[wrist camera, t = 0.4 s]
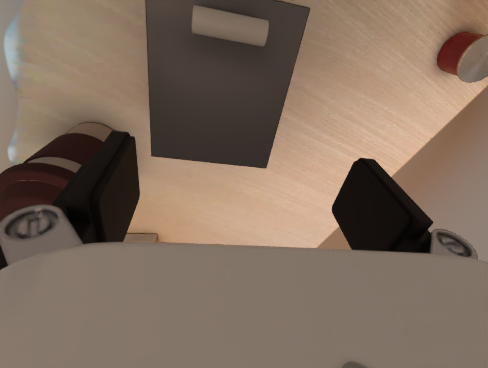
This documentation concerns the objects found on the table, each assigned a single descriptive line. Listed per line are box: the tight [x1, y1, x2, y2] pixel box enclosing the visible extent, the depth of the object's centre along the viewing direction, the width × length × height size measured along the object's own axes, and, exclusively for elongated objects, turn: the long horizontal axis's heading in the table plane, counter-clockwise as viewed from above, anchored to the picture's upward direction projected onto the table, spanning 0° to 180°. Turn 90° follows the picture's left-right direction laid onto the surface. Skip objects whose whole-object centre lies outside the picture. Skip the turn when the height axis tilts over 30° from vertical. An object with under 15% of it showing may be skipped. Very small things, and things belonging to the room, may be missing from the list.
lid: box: [145, 0, 310, 168], centre depth 22 cm, size 15×13×5 cm
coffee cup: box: [0, 123, 113, 222], centre depth 29 cm, size 10×10×15 cm
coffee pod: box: [437, 32, 488, 83], centre depth 30 cm, size 5×5×4 cm
